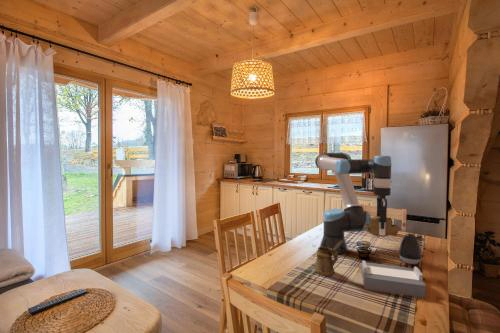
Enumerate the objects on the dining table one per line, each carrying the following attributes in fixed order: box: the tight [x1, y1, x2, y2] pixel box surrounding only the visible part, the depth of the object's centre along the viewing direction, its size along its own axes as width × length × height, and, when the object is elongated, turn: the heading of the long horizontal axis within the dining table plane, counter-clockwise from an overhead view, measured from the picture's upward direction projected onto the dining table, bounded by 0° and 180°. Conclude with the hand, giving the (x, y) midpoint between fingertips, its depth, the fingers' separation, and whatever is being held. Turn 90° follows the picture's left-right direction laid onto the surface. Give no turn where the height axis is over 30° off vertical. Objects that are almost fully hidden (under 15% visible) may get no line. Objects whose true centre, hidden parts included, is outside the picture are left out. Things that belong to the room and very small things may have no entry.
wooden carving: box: [364, 215, 401, 238], centre depth 130 cm, size 16×5×10 cm, turn 85°
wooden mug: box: [313, 240, 343, 277], centre depth 124 cm, size 9×14×18 cm, turn 45°
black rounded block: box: [398, 232, 423, 265], centre depth 136 cm, size 10×10×15 cm
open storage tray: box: [360, 260, 427, 299], centre depth 114 cm, size 22×16×7 cm
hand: (381, 233), depth 130 cm, fingers closed on wooden carving, 4 cm apart
